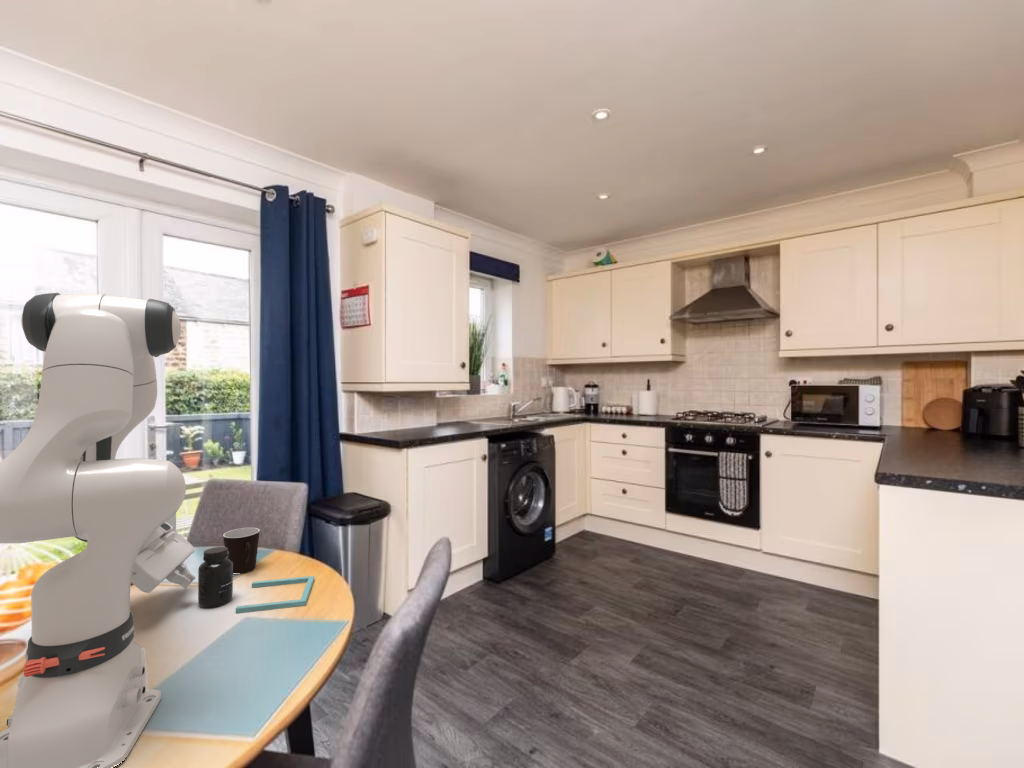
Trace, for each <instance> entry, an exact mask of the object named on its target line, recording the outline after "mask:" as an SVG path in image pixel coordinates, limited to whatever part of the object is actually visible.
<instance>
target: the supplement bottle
mask: <svg viewBox="0 0 1024 768" xmlns="http://www.w3.org/2000/svg"><path fill="white" fill-rule="evenodd" d="M227 557H228V548H227V547H225V546H216V547H211V548H208V549H206V550H204V551H203V558H202V560H203V562H202V563H200V565H199V567H198V577H197V578H198V579H197V580H198V583H197V586H198V587H197V589H198V590H197V596H198V597H197V600H198V601H197V602H198V606H199V607H201V608H205V609H209V608H210V609H211V608H212V609H213V608H217V607H221V606H224V605H226V604H228V603H230V602H231V601H232V599H233V596H234V593H233V592H234V582H233V581H234V574H233V562H232V561H231V560H230V559H228V558H227Z"/></svg>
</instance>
